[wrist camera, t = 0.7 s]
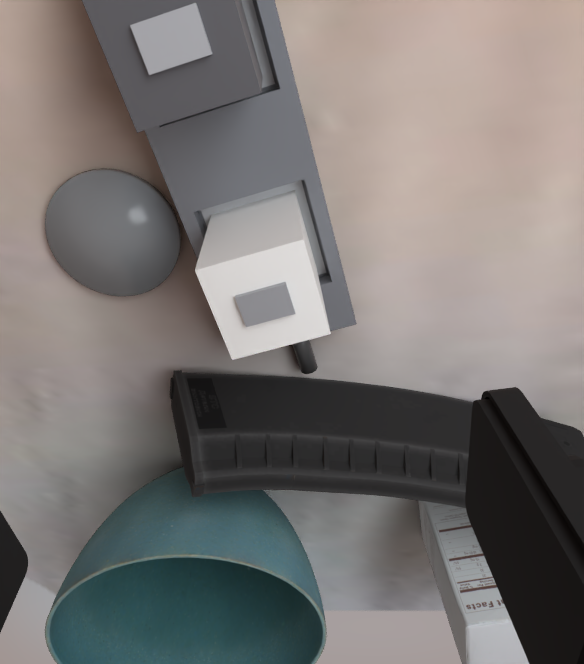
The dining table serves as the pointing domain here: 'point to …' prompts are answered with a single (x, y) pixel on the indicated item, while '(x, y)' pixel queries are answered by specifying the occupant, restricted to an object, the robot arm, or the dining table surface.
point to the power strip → (255, 163)
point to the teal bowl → (189, 584)
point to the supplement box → (468, 588)
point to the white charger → (262, 276)
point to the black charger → (176, 55)
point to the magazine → (326, 437)
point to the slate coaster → (113, 232)
